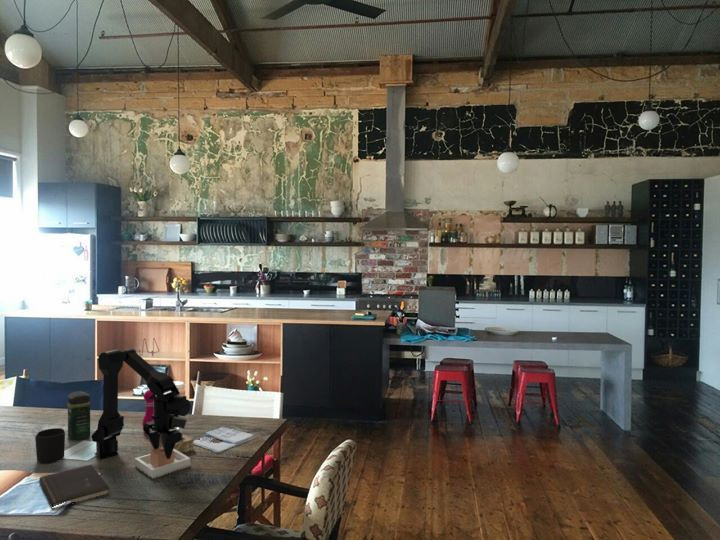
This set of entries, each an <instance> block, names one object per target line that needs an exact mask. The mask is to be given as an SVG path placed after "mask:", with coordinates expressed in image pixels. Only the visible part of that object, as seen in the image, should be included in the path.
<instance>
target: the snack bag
mask: <svg viewBox="0 0 720 540" xmlns="http://www.w3.org/2000/svg"><path fill="white" fill-rule="evenodd" d="M254 436H255V434H252V433H249V432H245V431H240V430H236V429H232V428H227V427H225V426H221V427H219V428H216V429H212V430H210V431H206V432H205V433H204V437H203V436H202V437H200V440H197V439H194V440H193V443H194V444H195V445H198V446H201V447H203V448H202V449H204V448H206V449H205V450H207V449H209V450H208V451H210V452H213V453H214V454H220V453H221V454H222V453H223V452H225V450H226V451H228V450H230V449H232V447H233V448H236V447H237V446H241V445H243V444H245V443H247V442H249V441H252V440H254V439H255V437H254ZM208 437H209V438H208ZM210 438H211V439H210ZM213 438H215V439H218V440H217V441H219V442H220V443H213V442H210V441H211V440H212V439H213ZM209 440H210V441H209ZM221 440H222V441H221ZM195 445H194V446H195ZM198 446H197V447H198ZM201 447H200V448H201ZM227 449H228V450H227Z"/></svg>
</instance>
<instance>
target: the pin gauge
mask: <svg viewBox="0 0 720 540" xmlns="http://www.w3.org/2000/svg"><path fill="white" fill-rule="evenodd" d="M174 430H177V431H179V432H181V433H182V434H183V428H179V427H175V429H174ZM180 441H182V440H180Z"/></svg>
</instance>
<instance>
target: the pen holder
mask: <svg viewBox="0 0 720 540" xmlns="http://www.w3.org/2000/svg"><path fill="white" fill-rule="evenodd" d="M34 438H35V439H34V440H35V451H36V462H37V463H38V464H41V465H45V464H47V465H48V464H54V463H57V462H59V460H60V461H62V460H63V459H64V457H65V449H66V444H65V443H66V431H65V429H63V428H59V427H58V428H57V427H54V428H47V429H44V430H43V429H42V430H40V431H39V432H37V433H36V435H35V437H34ZM62 458H63V459H62Z"/></svg>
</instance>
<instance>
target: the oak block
mask: <svg viewBox="0 0 720 540" xmlns="http://www.w3.org/2000/svg"><path fill="white" fill-rule="evenodd" d="M182 434H183V433H182ZM193 441H194V438H192V437H190V436H188V435H187V434H183V439H182V441H179V442H177V443H176V444H175V446H174V449H175V450H177V451H179V452H181V453H182V454H184V453H183V452H185V453H187V452H186V451H188V452H190V451H189V450H191V451H193V450H192V449H194V446H195V445H194V443H193Z"/></svg>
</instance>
